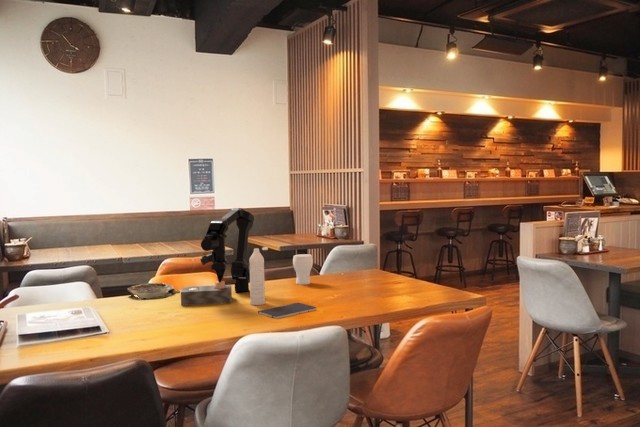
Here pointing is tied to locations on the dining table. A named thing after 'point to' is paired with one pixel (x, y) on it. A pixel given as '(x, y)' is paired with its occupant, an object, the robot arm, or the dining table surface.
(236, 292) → the robot arm
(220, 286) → the terracotta peg
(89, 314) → the dining table surface
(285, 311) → the notebook
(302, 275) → the cup
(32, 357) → the dining table surface
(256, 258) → the water bottle
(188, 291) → the block
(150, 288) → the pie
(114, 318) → the dining table surface
